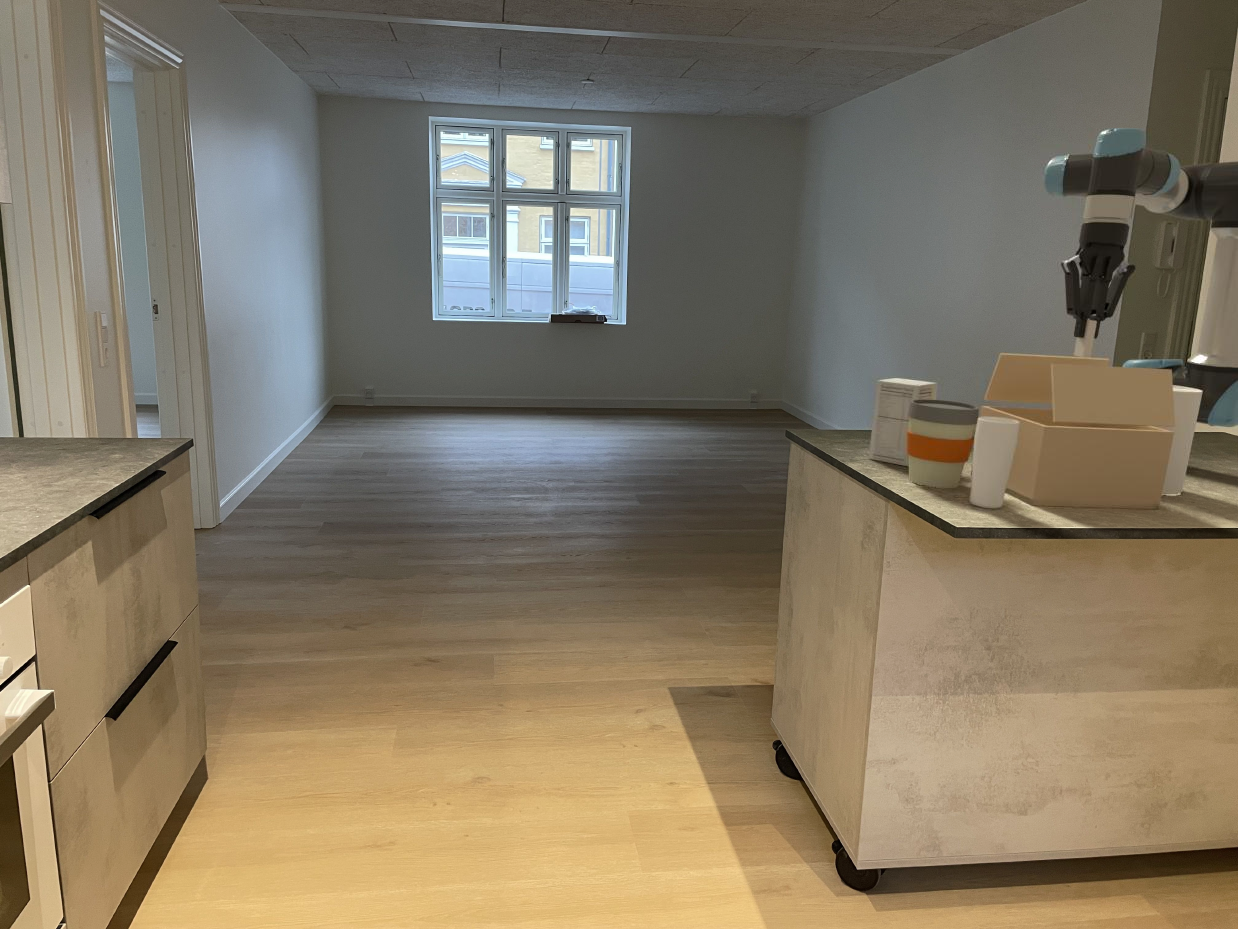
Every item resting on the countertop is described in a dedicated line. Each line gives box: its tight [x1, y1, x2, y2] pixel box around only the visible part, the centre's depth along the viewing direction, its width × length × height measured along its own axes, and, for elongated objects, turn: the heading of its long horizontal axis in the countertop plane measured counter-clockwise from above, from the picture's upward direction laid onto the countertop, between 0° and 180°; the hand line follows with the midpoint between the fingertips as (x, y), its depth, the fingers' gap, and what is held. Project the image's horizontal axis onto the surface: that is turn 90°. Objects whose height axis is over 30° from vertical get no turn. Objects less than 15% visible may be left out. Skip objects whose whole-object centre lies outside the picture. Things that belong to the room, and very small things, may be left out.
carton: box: [970, 405, 1174, 510], centre depth 165 cm, size 24×22×14 cm
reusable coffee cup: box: [907, 399, 980, 489], centre depth 166 cm, size 13×13×15 cm
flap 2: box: [1051, 364, 1175, 427], centre depth 152 cm, size 22×10×1 cm
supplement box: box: [868, 377, 938, 467], centre depth 185 cm, size 10×9×17 cm
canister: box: [1153, 385, 1203, 495], centre depth 173 cm, size 14×14×20 cm
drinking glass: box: [969, 416, 1020, 510], centre depth 151 cm, size 7×7×15 cm
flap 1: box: [983, 352, 1110, 405], centre depth 172 cm, size 22×10×1 cm
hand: (1082, 356), depth 161 cm, fingers closed
